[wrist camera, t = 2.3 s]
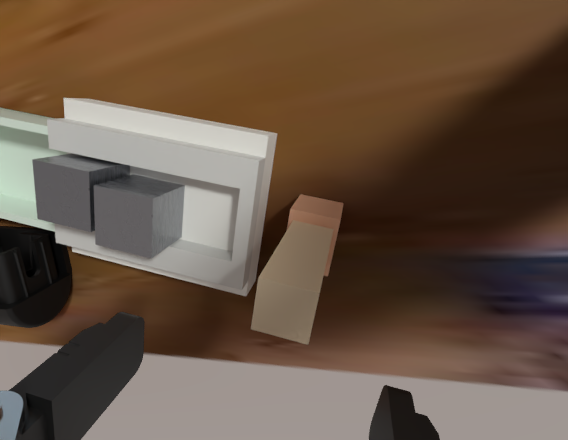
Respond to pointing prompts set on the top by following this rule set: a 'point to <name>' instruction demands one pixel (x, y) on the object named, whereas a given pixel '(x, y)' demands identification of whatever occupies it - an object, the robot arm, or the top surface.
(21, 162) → the tray
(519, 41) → the top surface
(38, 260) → the end cap
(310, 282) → the two-tone stepped bar
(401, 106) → the top surface
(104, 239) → the grey cube block
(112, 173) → the dark grey cube
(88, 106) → the slot board
